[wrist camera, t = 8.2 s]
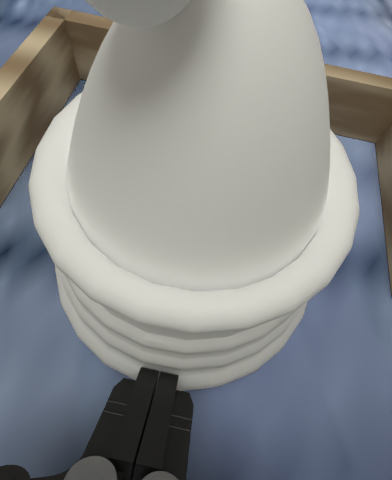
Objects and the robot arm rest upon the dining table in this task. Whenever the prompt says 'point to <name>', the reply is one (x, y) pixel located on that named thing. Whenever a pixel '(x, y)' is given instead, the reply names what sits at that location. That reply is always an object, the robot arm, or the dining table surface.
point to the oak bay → (78, 67)
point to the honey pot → (195, 187)
